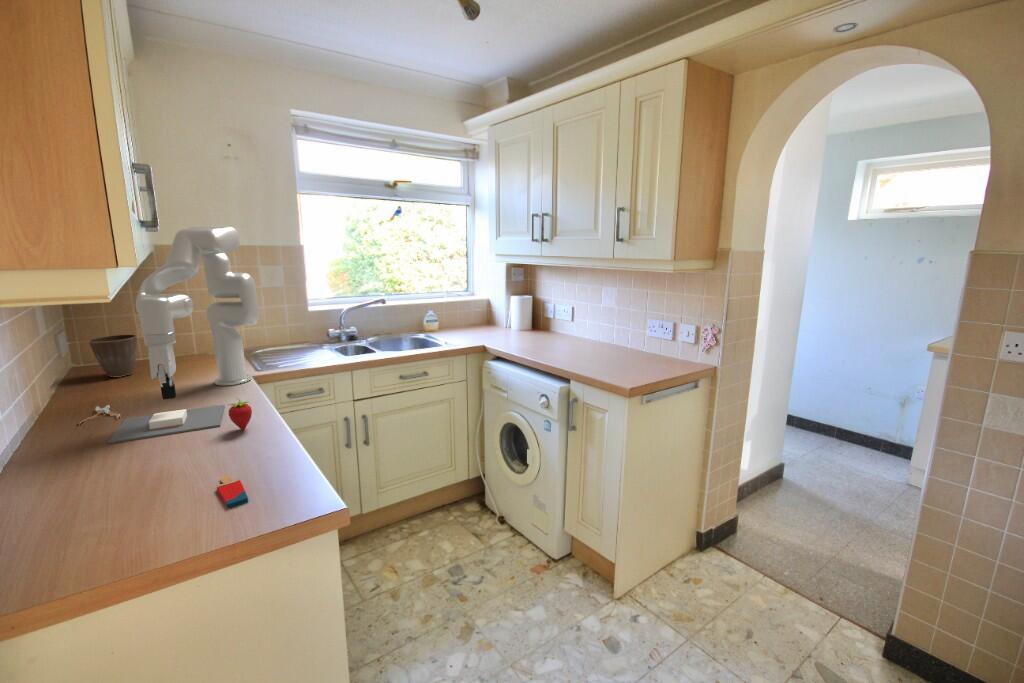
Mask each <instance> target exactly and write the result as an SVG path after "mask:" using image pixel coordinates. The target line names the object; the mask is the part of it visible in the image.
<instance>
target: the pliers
mask: <svg viewBox="0 0 1024 683" xmlns="http://www.w3.org/2000/svg"><path fill="white" fill-rule="evenodd" d="M109 408H110V409H111V406H110V404H107V405H105V406H104V407H100V406H98V405H97V406H95V409H94V410H95V413H96V412H97V413H98V412H105V413H108V412H111V410H109ZM105 413H104V414H105ZM118 415H119V416H120V417H121V414H120V413H119V414H118ZM117 419H118V418H116V420H117ZM118 420H119V419H118Z"/></svg>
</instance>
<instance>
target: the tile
mask: <svg viewBox="0 0 1024 683" xmlns="http://www.w3.org/2000/svg"><path fill="white" fill-rule="evenodd" d="M186 410H187V408H185V409H184V408H183V409H179V410H171V411H169V410H168V411H163V412H157V413H153V414H154V415H153V414H152V415H153V416H152V418H151V419H150V421H149V427H150V430H154V429H161V428H167V427H174V426H181V425H184V423H185V421H186V418H187V411H186Z"/></svg>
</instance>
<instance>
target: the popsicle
mask: <svg viewBox="0 0 1024 683" xmlns="http://www.w3.org/2000/svg"><path fill="white" fill-rule="evenodd" d="M219 480H220V482H221V483H220V484H218V485H216V491H217V494H219V497H220V498H221V500H222V502H223V503H224V505H225V507H226V508H227V509H233V508H234V507H235V508H236V507H238V506H242V505H244V504H249V497H248V494H247V492H246V489H245V488H244V486H243V484H242V481H241V479H239V478H238V479H235V480H232V478H231V476H230V475H224V476H221V477H220V478H219Z"/></svg>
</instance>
